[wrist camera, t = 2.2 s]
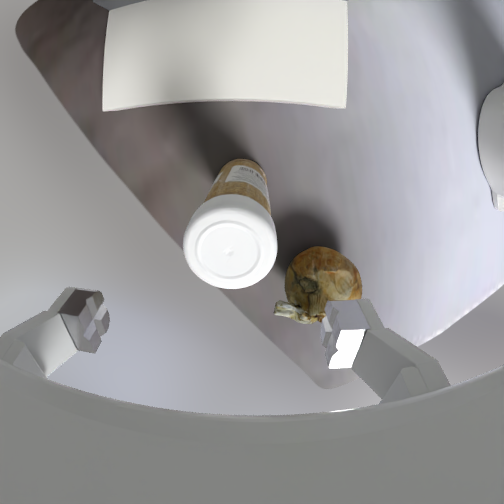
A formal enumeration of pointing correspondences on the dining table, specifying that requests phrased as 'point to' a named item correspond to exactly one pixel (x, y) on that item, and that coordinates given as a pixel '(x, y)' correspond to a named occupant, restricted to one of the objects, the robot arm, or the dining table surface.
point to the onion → (317, 284)
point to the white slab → (225, 52)
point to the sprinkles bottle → (233, 229)
